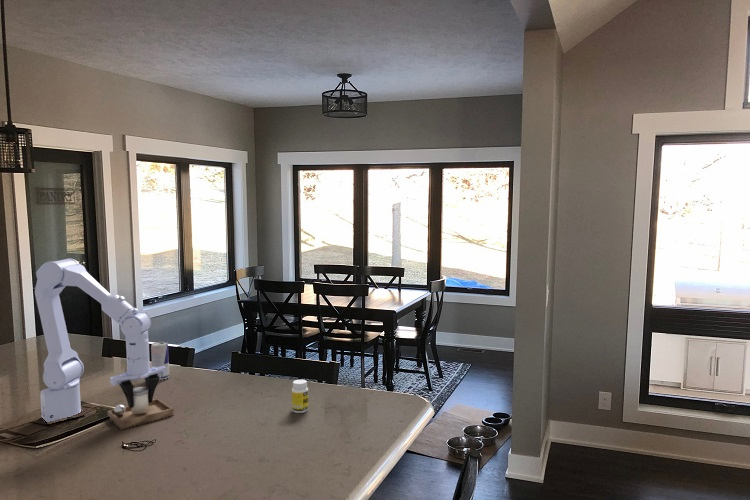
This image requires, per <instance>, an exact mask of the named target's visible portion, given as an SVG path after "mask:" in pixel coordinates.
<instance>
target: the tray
mask: <svg viewBox="0 0 750 500" xmlns="http://www.w3.org/2000/svg"><path fill="white" fill-rule="evenodd" d="M125 407H126V412H125V413H124V414H123V415H121V416H118V415H116V414H115V413H114V409H110V410H107V417H108V416H109V417H110V419H111V420H112V421H113V422H112V421H111V420H110V419H109V420H110V421H111V422H112V423H113V424H114V425H115V426H116V425H117V426H118V427H119V429H120V431H123V430H122V429H124V430H126V429H125V428H127V429H130V428H129V427H131V428H133V427H132V426H134V427H137V426H136V425H138V426H140V425H139V424H142V425H144V424H143V423H145V424H147V423H146V422H149V423H152V422H155V421H154V420H156V421H159V420H162V419H161V418H163V419H165V418H164V417H166V418H169V417H168V416H170V417H173V416H172V415H174V414H175V411H174V408H173V407H172V406H170V404H169V405H168V404H167V403H166V402H164V401H163V400H161V399H160V398H153V400H152V403H149V410H148V411H147V412H145V413H141V414H134V413H132V408H130V407H129V406H128V405H127V406H125ZM158 419H159V420H158ZM151 421H152V422H151ZM117 426H116V427H117ZM118 427H117V428H118Z"/></svg>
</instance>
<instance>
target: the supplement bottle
mask: <svg viewBox="0 0 750 500" xmlns="http://www.w3.org/2000/svg"><path fill="white" fill-rule="evenodd" d="M307 381H308V380H305V379H296V380H293V381H292V388H291V411H292V412H293V413H295V414H296V413H297V414H300V413H301V414H302V413H306V412H308V410H309V408H310V407H309V388H308V382H307Z"/></svg>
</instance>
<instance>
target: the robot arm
mask: <svg viewBox="0 0 750 500" xmlns="http://www.w3.org/2000/svg"><path fill="white" fill-rule="evenodd" d="M35 276H36V278H37V280H36V284H35V287H34V295H35V300H36V305H37V309H38V314H39V317H40V322H41V323H40V324H41V327H42V332H43V335H44V341H45V345H46V350H47V353H48V355H47V357H46V358H45V360H44V363H43V375H42V380H43V383H44V385H45V386H46V387H47V388H45V389H42V390H40V396H39V397H40V398H39V399H40V411H41V412H40V413H41V416H40V418H41V417H42V418H43V419H44V420H45V421H46V422H50V421H55V420H58V419H62V418H67V417H71V416H73V415H76V414H78V413H80V412H81V410H82V409H81V408H82V407H81V406H82V405H81V390H80V389H81V387H80V380H81V378H80V377H82V375H83V374H84V371H85V366H84V363H83V362H82V361H81V359H80V357H79V354H78V352H77V351H76V350H74V349H72V348H71V344H70V339H69V334H68V333H69V332H68V330H67V325H66V320H65V316H64V312H63V306H62V303H61V298H60V294H61V293H62V292H63V290H64V289H65V288H66V287H78V289H80V290H81V291H83V292H84V293H86V294H87V295H89V297H91V298H93V299H94V300H96V301H97V302H98V303H99V304H100V305H101V310H102V312H104V313H105V314H106V315H107V316H108V317H109V318H110V319H112V320H113V321H114V322H116V323H117V324H118V325H119V326H120V330H121V332H122V335H124V337H125V348H126V367H127V368H126V369H127V371H126V372H123V373H120V374H117V375H114V376H110V377H109V383H110V385H111V386H113V387H114V386H117V385H118V386H119V387H120V388H121V391H122V392H123V393H124V397H125V398H126V401H127V406H129V407H130V408H133V406H134V403H133V389H134V388H135V387H134V386H135V385H133V383H132V382H133V381H136V380H142V379H144V380H145V381H144V382H145V387H147V388H148V389H149V392H148V401H149V403H152V400H153V399H154V394H155V391H156V388H157V387H158V384H159V382H160V381H159V380H160V378H159V377H158V375H160V374H166V367H165V366H160V367H152V366H151V365H150V364H151V363H150V344H149V342H150V341H149V340H150V339H149V329H150V328H151V326H152V319H151V316H150V315H149V314H148V313H147V312H145V311H144V310H143V311H142V310H141V311H140V310H139V309H138V308H137V307H133V306H132V305H131V304H130V303H129V302H127V300H126V297H125V296H123V295H121V296H120V295H119V294H111V293H110V292H109V291H108V290H107V289H106V288H104V286H102V285H101V284H100V282H98V281H97V279H95V278H94V277H93V276H92V275H91V274H90V273H89V272H88V271H87V269H86V267H85V266H84V265H82V264H80V263H79V261H77V260H76V259H74V258H70V257H69V258H64V259H60V260H56V261H55V260H54V261H46V262H44V263H43V264H41V266H40V267H39V268H38V269H37V270H36V272H35ZM52 415H53V417H51V416H52ZM42 418H41V419H42ZM43 419H42V420H43ZM44 420H43V421H44ZM45 421H44V422H45Z"/></svg>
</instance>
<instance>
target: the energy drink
mask: <svg viewBox="0 0 750 500" xmlns="http://www.w3.org/2000/svg"><path fill="white" fill-rule="evenodd" d="M150 350H151V351H150V352H151V354H150V355H151V368H152V367H160V366H165V367H166V374H160V375H158V377H159V378H160V380H161V381H164V380H163V379H165V380H167V378H168V379H169V378H170V363H169V362H170V361H169V360H170V358H169V356H170V355H169V344H168V342H167V341H157V342H152V343H151V347H150Z"/></svg>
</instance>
